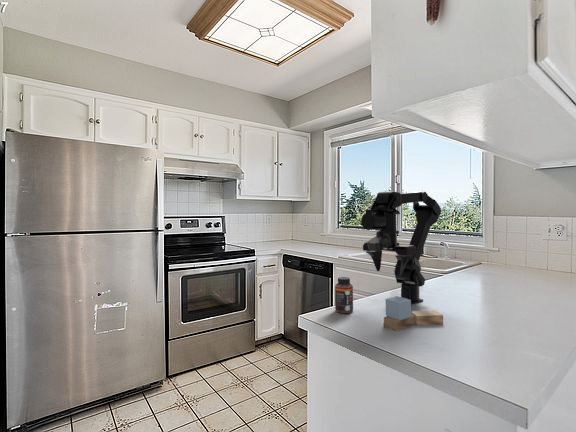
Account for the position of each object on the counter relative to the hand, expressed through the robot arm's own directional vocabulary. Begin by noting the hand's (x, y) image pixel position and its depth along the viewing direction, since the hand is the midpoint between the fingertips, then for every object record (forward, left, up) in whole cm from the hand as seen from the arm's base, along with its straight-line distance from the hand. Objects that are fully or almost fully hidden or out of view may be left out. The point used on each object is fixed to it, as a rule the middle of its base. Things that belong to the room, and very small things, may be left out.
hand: (388, 273), depth 115 cm
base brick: (+12, +14, -12) cm, 22 cm away
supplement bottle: (+16, -6, -12) cm, 21 cm away
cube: (+12, +13, -9) cm, 20 cm away
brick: (+3, +16, -12) cm, 21 cm away
